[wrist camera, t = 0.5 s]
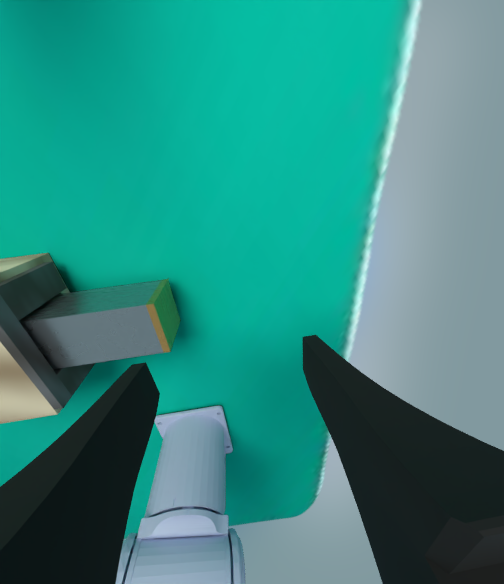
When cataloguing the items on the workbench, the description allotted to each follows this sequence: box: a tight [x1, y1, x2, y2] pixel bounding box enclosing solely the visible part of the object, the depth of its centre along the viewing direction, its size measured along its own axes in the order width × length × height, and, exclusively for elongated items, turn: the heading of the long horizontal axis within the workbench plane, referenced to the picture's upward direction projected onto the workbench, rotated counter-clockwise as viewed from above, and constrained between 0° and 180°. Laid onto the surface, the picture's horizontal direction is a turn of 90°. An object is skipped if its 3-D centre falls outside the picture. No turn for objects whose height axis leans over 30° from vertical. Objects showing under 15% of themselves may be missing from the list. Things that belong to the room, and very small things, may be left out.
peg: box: [19, 279, 181, 369], centre depth 17 cm, size 4×14×4 cm, turn 96°
